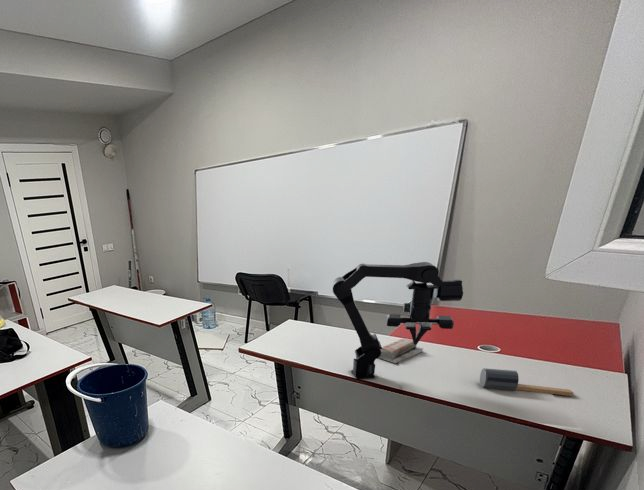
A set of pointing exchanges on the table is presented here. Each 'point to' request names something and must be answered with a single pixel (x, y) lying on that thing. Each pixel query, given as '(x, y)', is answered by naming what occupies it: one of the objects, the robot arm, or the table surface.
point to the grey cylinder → (499, 379)
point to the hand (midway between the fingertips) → (415, 344)
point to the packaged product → (399, 350)
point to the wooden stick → (544, 389)
